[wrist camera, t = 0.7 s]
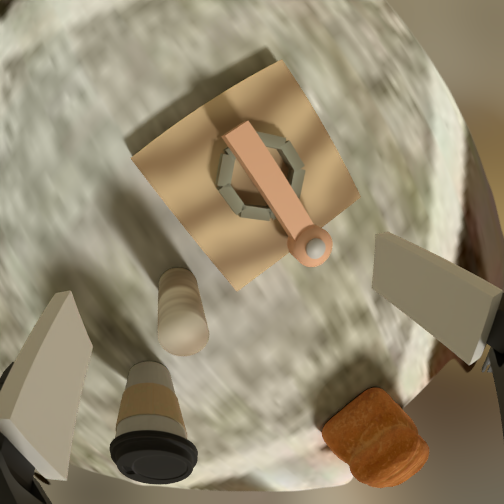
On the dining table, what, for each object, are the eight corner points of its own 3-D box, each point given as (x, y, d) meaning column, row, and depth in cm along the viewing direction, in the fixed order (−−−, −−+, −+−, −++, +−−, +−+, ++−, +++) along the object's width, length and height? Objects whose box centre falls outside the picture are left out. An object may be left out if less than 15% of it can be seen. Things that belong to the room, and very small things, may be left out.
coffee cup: (103, 370, 34) (90, 461, 21) (154, 338, 35) (157, 434, 21) (148, 407, 38) (153, 493, 25) (198, 381, 39) (218, 470, 25)
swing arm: (327, 243, 32) (340, 252, 30) (298, 266, 32) (309, 276, 30) (249, 117, 26) (258, 114, 23) (213, 141, 26) (218, 140, 23)
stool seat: (133, 157, 28) (128, 158, 24) (275, 63, 28) (287, 55, 24) (233, 283, 35) (240, 298, 32) (351, 194, 35) (368, 199, 32)
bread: (359, 451, 61) (390, 498, 45) (310, 428, 50) (349, 496, 34) (406, 413, 61) (443, 456, 45) (374, 377, 50) (426, 438, 34)
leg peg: (150, 283, 32) (146, 333, 23) (180, 259, 32) (186, 304, 23) (175, 309, 34) (181, 363, 25) (204, 287, 34) (219, 337, 25)
